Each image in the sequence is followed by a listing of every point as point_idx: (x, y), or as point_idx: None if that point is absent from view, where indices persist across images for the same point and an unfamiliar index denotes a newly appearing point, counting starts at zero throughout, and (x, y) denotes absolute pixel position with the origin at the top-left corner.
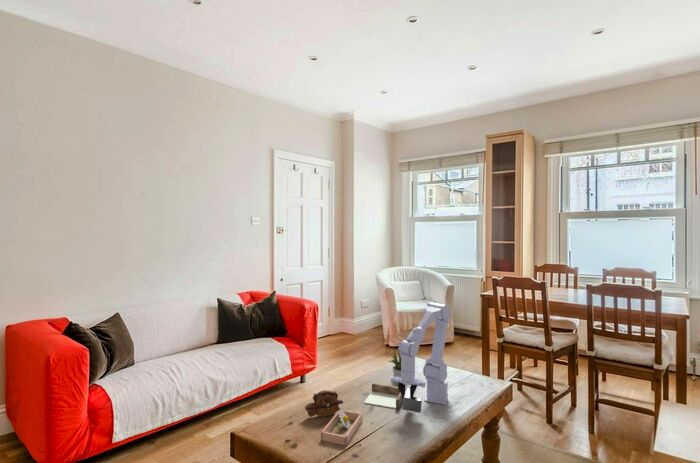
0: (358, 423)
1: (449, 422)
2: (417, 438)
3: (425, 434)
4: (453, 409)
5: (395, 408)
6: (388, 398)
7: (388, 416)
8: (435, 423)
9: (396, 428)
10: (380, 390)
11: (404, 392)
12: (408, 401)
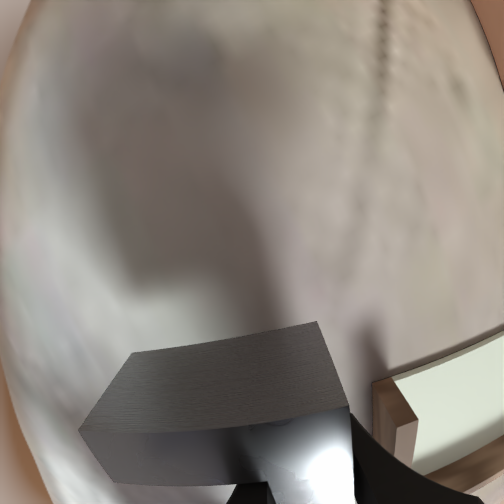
0: (490, 12)
1: (27, 382)
2: (72, 72)
3: (45, 156)
4: (98, 491)
5: (394, 377)
6: (452, 434)
7: (407, 244)
8: (63, 339)
9: (267, 92)
10: (494, 449)
11: (364, 500)
12: (250, 396)
